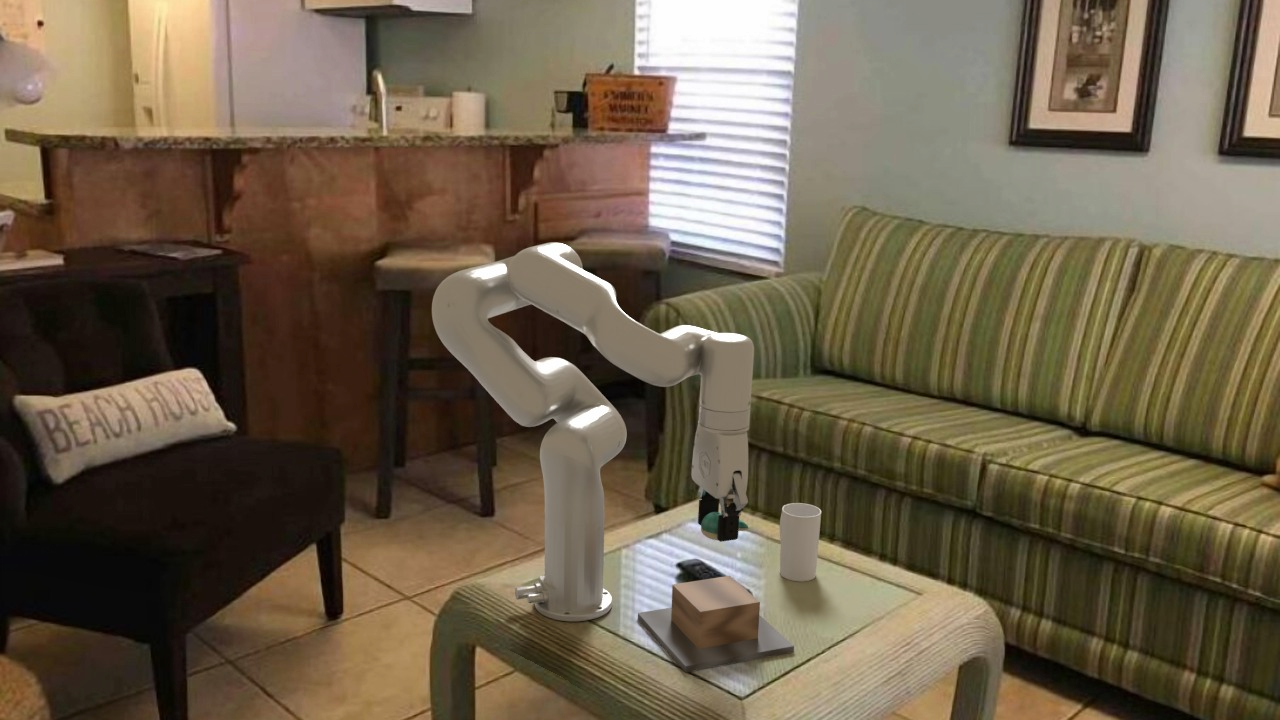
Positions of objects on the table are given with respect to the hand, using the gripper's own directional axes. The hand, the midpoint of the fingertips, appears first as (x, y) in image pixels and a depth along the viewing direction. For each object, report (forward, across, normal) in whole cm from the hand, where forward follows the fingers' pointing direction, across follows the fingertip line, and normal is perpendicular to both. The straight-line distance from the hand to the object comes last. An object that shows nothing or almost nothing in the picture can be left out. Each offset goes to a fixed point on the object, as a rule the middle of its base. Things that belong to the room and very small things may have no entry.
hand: (717, 530), depth 168 cm
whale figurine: (+1, 0, +1) cm, 2 cm away
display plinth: (+17, 0, 0) cm, 17 cm away
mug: (+17, -17, +24) cm, 34 cm away
